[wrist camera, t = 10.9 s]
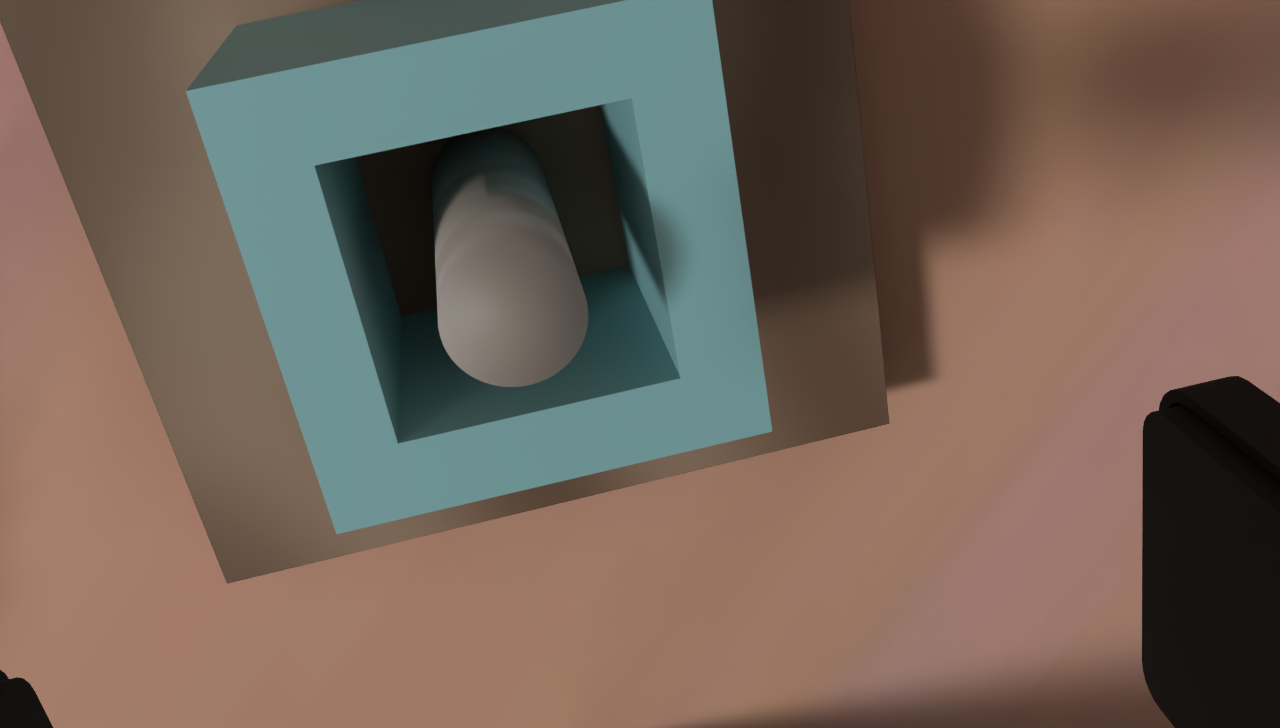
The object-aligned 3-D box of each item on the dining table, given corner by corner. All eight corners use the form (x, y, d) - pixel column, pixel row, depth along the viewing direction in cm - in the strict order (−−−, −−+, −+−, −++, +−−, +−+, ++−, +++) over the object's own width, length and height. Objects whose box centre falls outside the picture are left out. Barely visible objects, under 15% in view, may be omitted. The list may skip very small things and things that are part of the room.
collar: (645, -58, 21) (709, -18, 16) (705, 311, 24) (771, 431, 19) (236, 25, 20) (185, 90, 16) (351, 392, 23) (336, 534, 19)
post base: (791, -321, 21) (989, -383, 14) (865, 392, 27) (1028, 607, 20) (-40, -161, 20) (-297, -134, 13) (237, 542, 26) (169, 827, 19)
